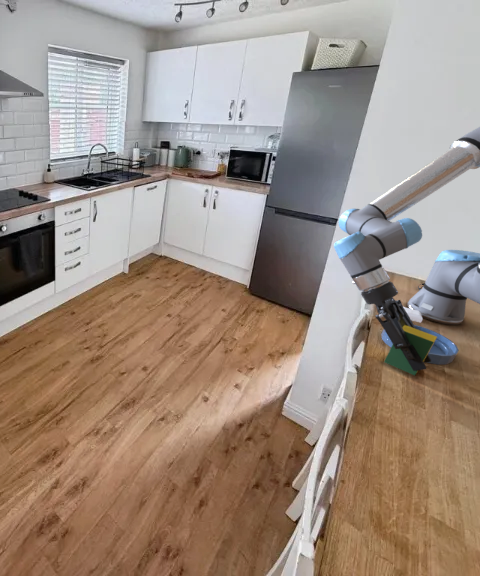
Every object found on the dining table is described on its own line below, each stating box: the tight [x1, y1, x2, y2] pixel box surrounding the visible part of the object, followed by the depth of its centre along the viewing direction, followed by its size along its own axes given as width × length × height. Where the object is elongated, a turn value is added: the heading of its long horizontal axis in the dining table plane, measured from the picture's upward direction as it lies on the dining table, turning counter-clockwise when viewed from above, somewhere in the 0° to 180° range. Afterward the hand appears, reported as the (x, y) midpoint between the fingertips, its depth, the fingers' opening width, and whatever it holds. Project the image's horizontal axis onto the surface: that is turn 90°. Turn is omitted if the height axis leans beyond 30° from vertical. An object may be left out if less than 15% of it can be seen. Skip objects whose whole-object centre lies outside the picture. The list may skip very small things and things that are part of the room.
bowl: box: [381, 324, 459, 365], centre depth 108 cm, size 17×17×4 cm
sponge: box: [383, 325, 437, 376], centre depth 98 cm, size 4×7×11 cm, turn 40°
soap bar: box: [403, 306, 424, 323], centre depth 126 cm, size 5×9×3 cm, turn 57°
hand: (422, 365), depth 97 cm, fingers closed on sponge, 4 cm apart
